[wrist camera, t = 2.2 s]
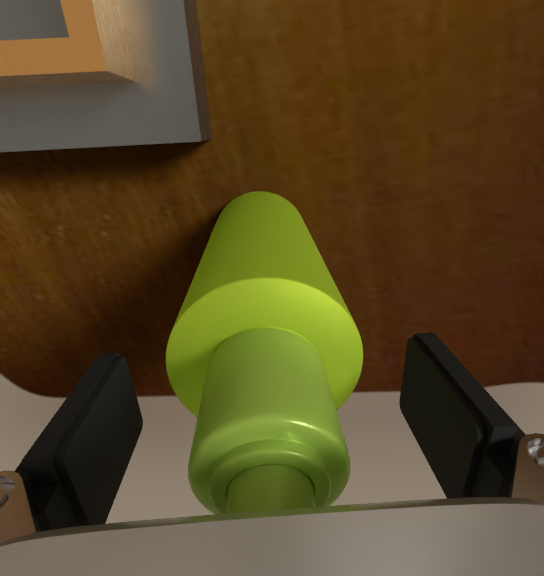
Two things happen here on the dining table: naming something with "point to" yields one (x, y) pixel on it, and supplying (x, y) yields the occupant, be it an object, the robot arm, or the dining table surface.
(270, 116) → the dining table surface
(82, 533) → the robot arm
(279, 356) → the green pump bottle
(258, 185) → the dining table surface
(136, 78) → the bottle holder tray
